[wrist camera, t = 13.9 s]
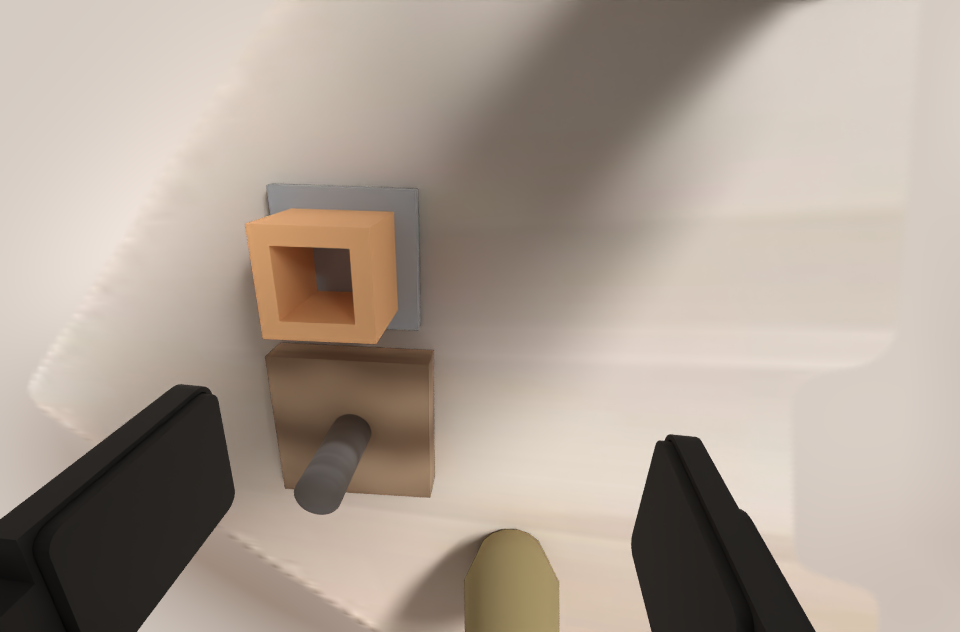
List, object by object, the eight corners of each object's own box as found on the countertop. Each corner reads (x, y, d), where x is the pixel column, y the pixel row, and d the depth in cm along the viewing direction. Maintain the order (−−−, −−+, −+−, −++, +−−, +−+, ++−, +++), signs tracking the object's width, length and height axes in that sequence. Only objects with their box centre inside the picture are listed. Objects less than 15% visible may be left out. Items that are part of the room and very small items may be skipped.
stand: (280, 342, 36) (207, 408, 28) (433, 350, 36) (409, 420, 27) (297, 468, 41) (239, 560, 32) (434, 476, 40) (414, 572, 31)
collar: (291, 208, 32) (244, 223, 26) (393, 211, 31) (369, 228, 26) (302, 305, 34) (262, 338, 29) (397, 309, 34) (376, 344, 28)
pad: (273, 183, 32) (266, 185, 31) (417, 188, 32) (415, 190, 31) (290, 319, 36) (284, 324, 35) (420, 325, 35) (418, 330, 34)
